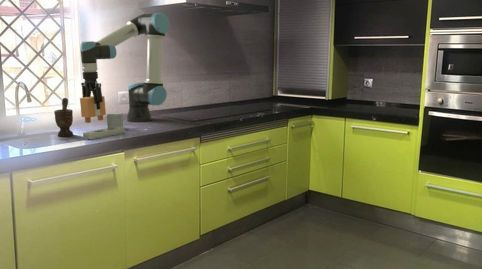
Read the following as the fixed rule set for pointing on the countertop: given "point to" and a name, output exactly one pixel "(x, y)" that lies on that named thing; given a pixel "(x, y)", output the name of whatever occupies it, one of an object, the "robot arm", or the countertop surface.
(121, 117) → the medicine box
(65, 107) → the mortar and pestle
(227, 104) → the countertop surface
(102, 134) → the rail
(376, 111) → the countertop surface
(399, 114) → the countertop surface
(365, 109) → the countertop surface
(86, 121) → the orange block with prongs
